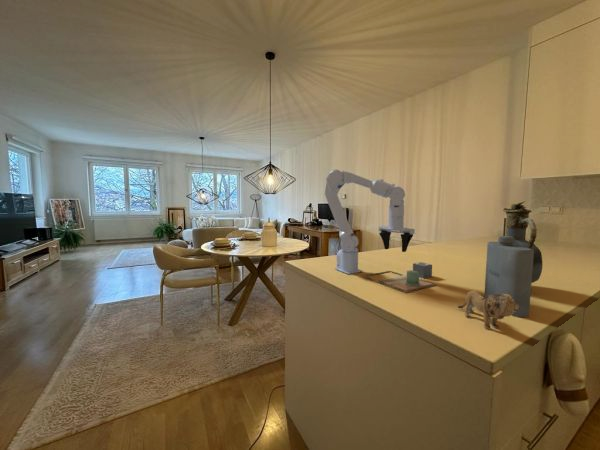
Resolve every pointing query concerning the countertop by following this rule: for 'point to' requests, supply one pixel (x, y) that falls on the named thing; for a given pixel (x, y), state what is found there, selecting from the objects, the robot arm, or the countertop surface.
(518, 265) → the flask
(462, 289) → the countertop surface
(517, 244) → the pitcher
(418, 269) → the die
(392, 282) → the board
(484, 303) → the lion figurine
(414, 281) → the teal flanged knob
